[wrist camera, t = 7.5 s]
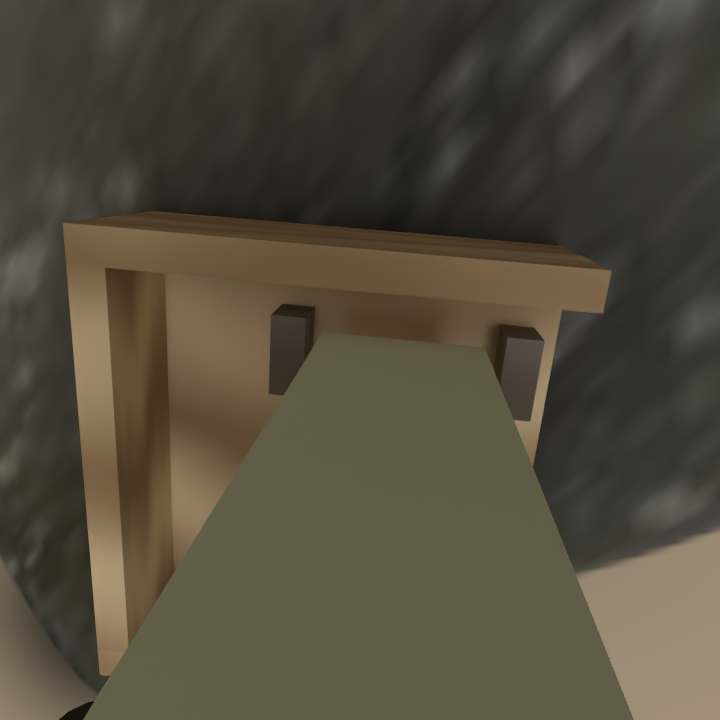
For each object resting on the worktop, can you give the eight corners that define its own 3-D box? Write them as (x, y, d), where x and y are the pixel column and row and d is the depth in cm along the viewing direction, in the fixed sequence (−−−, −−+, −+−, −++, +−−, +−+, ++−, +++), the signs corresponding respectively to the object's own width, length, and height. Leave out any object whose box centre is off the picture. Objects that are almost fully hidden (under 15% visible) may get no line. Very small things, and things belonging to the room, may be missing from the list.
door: (291, 328, 14) (-179, 887, 3) (484, 347, 14) (766, 1050, 3) (278, 648, 18) (19, 1526, 6) (437, 670, 17) (478, 1638, 6)
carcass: (152, 211, 19) (62, 222, 14) (560, 245, 18) (611, 270, 13) (165, 572, 23) (99, 674, 18) (494, 614, 22) (515, 734, 17)
